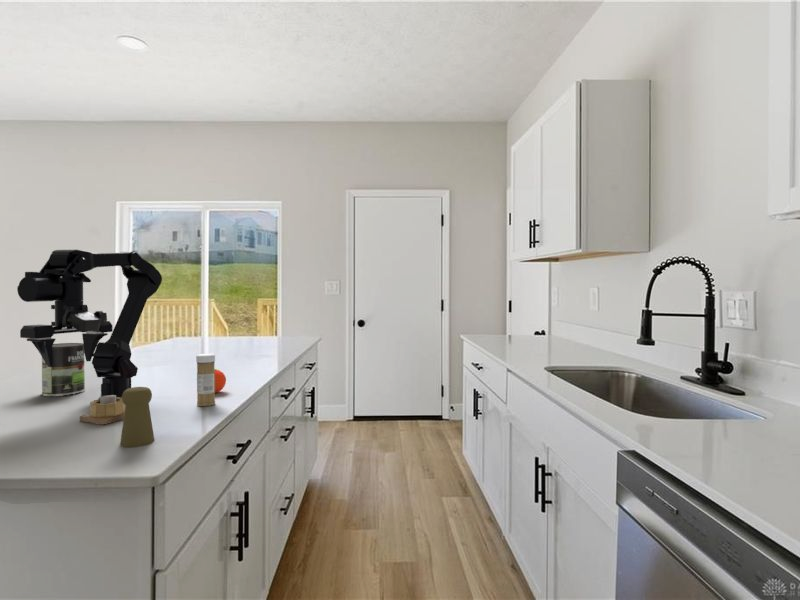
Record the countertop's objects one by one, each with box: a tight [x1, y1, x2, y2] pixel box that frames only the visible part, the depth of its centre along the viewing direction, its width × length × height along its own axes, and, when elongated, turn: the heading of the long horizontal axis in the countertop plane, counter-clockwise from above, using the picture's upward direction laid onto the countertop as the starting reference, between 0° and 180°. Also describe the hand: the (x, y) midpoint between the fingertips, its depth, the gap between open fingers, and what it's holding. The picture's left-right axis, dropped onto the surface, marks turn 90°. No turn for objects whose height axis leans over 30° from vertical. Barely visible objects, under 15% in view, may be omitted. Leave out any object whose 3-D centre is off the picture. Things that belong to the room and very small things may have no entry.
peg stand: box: [79, 395, 124, 425], centre depth 109 cm, size 8×8×5 cm
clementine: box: [214, 368, 227, 394], centre depth 137 cm, size 8×7×7 cm
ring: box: [89, 397, 126, 418], centre depth 109 cm, size 7×7×3 cm
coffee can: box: [41, 342, 86, 397], centre depth 134 cm, size 10×10×14 cm
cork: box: [119, 386, 155, 448], centre depth 92 cm, size 6×6×11 cm
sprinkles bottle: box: [195, 353, 216, 407], centre depth 122 cm, size 5×5×13 cm
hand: (69, 364), depth 113 cm, fingers open, 9 cm apart
